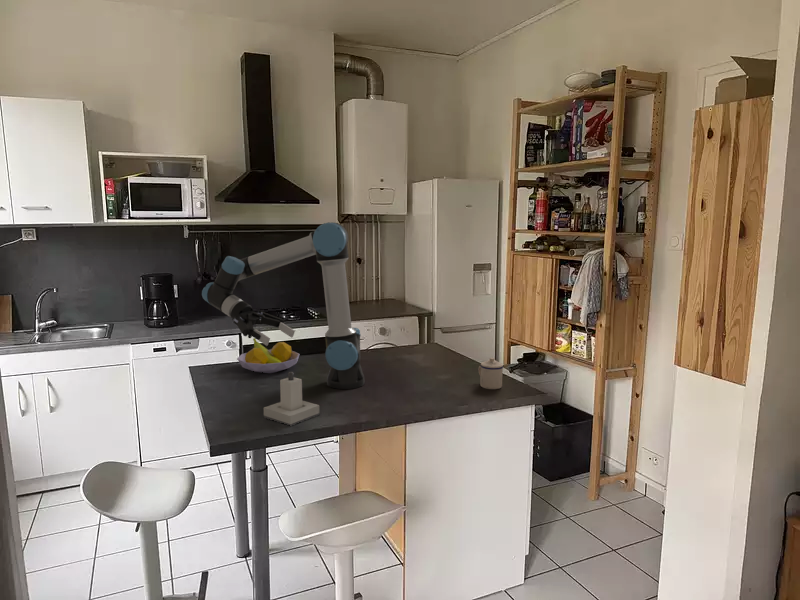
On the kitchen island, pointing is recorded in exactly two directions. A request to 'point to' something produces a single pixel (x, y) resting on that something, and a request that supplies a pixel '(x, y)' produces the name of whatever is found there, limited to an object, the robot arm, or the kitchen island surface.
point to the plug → (291, 392)
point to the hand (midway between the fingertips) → (281, 338)
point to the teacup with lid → (491, 374)
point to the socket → (291, 413)
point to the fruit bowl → (268, 358)
